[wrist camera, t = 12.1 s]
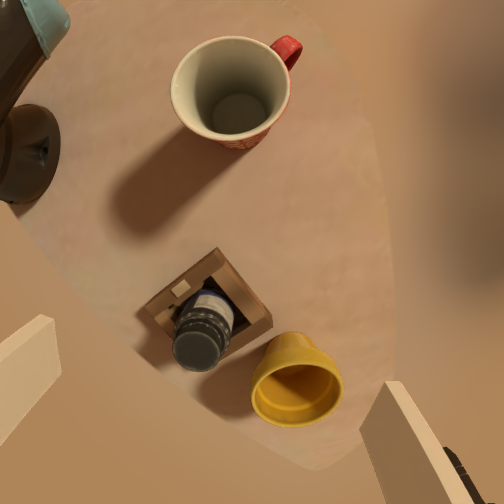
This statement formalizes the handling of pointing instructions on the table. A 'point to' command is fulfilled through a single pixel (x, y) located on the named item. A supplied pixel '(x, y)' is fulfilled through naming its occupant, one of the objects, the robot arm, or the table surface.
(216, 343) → the pill bottle
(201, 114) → the mug
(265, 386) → the plant pot
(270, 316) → the wooden tray
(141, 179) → the table surface
